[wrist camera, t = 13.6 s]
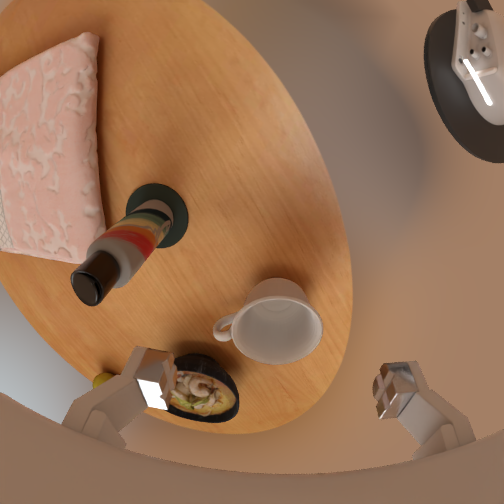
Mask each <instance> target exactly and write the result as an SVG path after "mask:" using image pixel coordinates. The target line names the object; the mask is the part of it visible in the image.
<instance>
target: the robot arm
mask: <svg viewBox="0 0 504 504" xmlns="http://www.w3.org/2000/svg"><path fill="white" fill-rule="evenodd" d="M459 60H460V62H459ZM451 66H452V69H453V71H454V72H455V73H456V75H457V76H458V77H459V79H460V80H461V81H462V82H463V84H464V86H465V88H466V90H467V93H468V95H469V98H470V100H471V101H472V103H473V105H474V107H475V108H476V110H477V111H478V112H479V113H480V115H481V116H482V117H483V118H484V119H486V120H487V121H488V122H490V123H492V124H494V125H504V16H503V15H501V14H499V13H497V12H495V11H493V9H492V7H491V5H490V3H489V1H488V0H467V1H461V2H458V3H457V11H456V26H455V37H454V47H453V55H452V62H451ZM174 360H175V357H174V353H171V352H166V351H161V350H156V349H151V348H145V347H140V346H136V347H135V348H134V349H133V351H132V353H131V355H130V357H129V359H128V361H127V363H126V365H125V367H124V369H123V371H122V373H121V375H116V376H114V377H112V378H111V379H109V380H107V381H106V382H104V383H102V384H101V385H99V386H98V387H96V388H94V389H93V390H91V391H89V392H87V393H86V394H84V395H82V396H81V397H79V398H77V399H76V400H74V401H73V403H72V405H71V407H70V409H69V411H68V412H67V415H66V416H65V418H64V420H63V422H62V424H59V423H56V422H54V421H52V420H50V419H48V418H46V417H44V416H42V415H40V414H38V413H36V412H34V411H33V410H31V409H29V408H27V407H25V406H23V405H22V404H20V403H18V402H17V401H15V400H13V399H12V398H10V397H9V396H7V395H5V394H3V393H0V504H504V429H502V430H500V431H498V432H496V433H494V434H491V435H489V436H487V437H484V438H482V439H479V440H476V438H475V436H474V433H473V430H472V428H471V425H470V422H469V420H468V418H467V417H466V416H465V415H463V414H462V413H461V412H460V411H459V410H457V409H456V408H455V407H454V406H452V405H451V404H450V403H449V402H447V401H446V400H445V399H444V398H442V397H441V396H440V395H438V394H437V393H436V392H435V391H433V390H429V387H428V385H427V383H426V380H425V378H424V375H423V373H422V371H421V368H420V366H419V364H418V362H417V361H409V362H395V363H384V364H383V365H382V366H381V368H380V372H381V373H380V374H379V375H378V376H376V378H375V380H374V383H373V396H374V398H375V399H376V400H377V401H378V404H377V406H376V408H377V412H378V416H379V419H388V418H397V417H398V418H397V419H398V420H399V421H400V422H401V423H402V425H403V426H404V427H405V428H406V429H407V430H408V431H409V433H410V434H411V435H412V436H413V437H414V438H415V439H416V441H417V442H418V443H419V444H420V445H421V447H420V448H419V449H418V450H416V451H415V452H414V454H413V455H412V456H413V460H411V461H407V462H403V463H398V464H393V465H387V466H382V467H375V468H369V469H362V470H354V471H344V472H333V473H318V474H264V473H248V472H237V471H227V470H218V469H211V468H204V467H198V466H192V465H187V464H182V463H177V462H172V461H168V460H163V459H159V458H155V457H151V456H147V455H143V454H140V453H136V452H133V451H130V450H126V449H125V446H126V443H125V441H124V440H123V438H122V437H121V436H120V434H119V433H118V432H119V431H120V430H122V429H123V428H124V427H125V426H126V425H128V424H129V423H130V422H131V421H132V420H133V419H135V418H136V417H137V416H138V415H139V414H141V413H142V412H143V411H144V410H145V409H146V408H148V407H147V406H149V407H154V408H159V409H165V410H168V408H169V405H170V401H171V398H172V395H171V392H170V391H172V390H173V389H174V388H175V386H176V382H177V367H176V365H175V364H173V363H174Z"/></svg>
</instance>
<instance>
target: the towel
mask: <svg viewBox="0 0 504 504" xmlns="http://www.w3.org/2000/svg"><path fill="white" fill-rule="evenodd" d="M99 39H100V38H99V36H97V35H95V34H92V33H91V32H84V33H82V34H81V35H80V36H78V37H76V38H72V39H70V40H68V41H66V42H62V43H60V44H58V45H57V46H55V47H52V48H50V49H47V50H45V51H44V52H42V53H40V54H38V55H36V56H33V57H32V58H30V59H28V60H26V61H25V62H22V63H21V64H19V65H17V66H15V67H14V68H12V69H11V70H9V71H8V72H6V73H5V74H4V75H2V76H1V77H0V251H4V252H9V253H18V254H25V255H30V256H35V257H41V258H47V259H51V260H58V261H64V262H69V263H75V264H82V263H83V262H84V261H85V260H86V253H87V250H88V248H89V246H90V245H91V244H92V243H93V242H94V241H95V240H96V239H97V238H98V237H100V236H101V235H102V234H103V233H105V232H106V231H107V230H106V225H105V218H104V212H103V206H102V201H101V193H100V183H99V168H98V154H97V152H96V150H97V134H96V132H95V127H96V119H97V118H96V117H97V89H98V87H97V85H98V83H97V79H96V73H97V59H96V56H97V53H98V44H99Z"/></svg>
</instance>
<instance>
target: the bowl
mask: <svg viewBox="0 0 504 504" xmlns="http://www.w3.org/2000/svg"><path fill="white" fill-rule="evenodd" d="M173 364H175V365H176V367H177V382H176V386H175V388H174V389H173V390H172V391H170V392H171V395H172V398H171V401H170V405H169V408H168V410H165V409H163V410H165V411H167V412H169V413H171V414H174V415H176V416H179V417H182V418H186V419H190V420H194V421H200V422H208V423H221V422H226V421H228V420H230V419H232V418H233V417H235V416H236V414H237V413H238V410H239V393H238V390H237V387H236V385H235V383H234V381H233V379H232V378H231V376H230V375H229V374H228V373H227V372H226V371H225V370H224V369H223V368H222V367H220V366H219V364H218V363H217V362H216V361H215V360H214V359H213V358H211V357H209V356H207V355H203V354H199V353H192V354H187V355H185V356H182V357H177V358H175V360H174V363H173Z"/></svg>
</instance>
